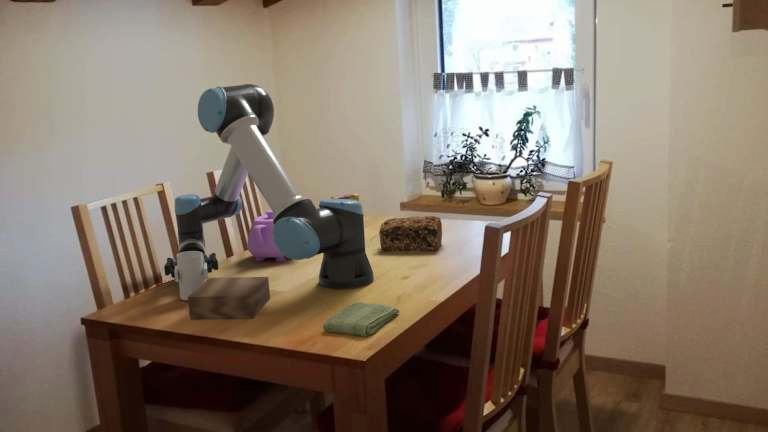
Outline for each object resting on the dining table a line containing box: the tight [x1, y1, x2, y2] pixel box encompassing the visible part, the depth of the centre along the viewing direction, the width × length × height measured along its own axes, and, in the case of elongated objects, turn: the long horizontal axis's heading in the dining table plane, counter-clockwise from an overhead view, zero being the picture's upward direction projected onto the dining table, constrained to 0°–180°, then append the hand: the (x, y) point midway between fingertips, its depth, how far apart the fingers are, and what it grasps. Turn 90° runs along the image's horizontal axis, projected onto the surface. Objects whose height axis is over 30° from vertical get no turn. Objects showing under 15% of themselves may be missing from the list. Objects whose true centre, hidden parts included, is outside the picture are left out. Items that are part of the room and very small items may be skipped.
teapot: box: [246, 209, 287, 263], centre depth 250 cm, size 20×20×15 cm
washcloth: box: [322, 301, 400, 338], centre depth 189 cm, size 13×18×3 cm
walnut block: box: [187, 276, 271, 321], centre depth 204 cm, size 16×16×6 cm
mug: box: [176, 251, 206, 302], centre depth 216 cm, size 10×7×12 cm, turn 158°
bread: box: [378, 215, 443, 253], centre depth 254 cm, size 19×11×10 cm, turn 77°
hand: (191, 275), depth 212 cm, fingers closed on mug, 7 cm apart
